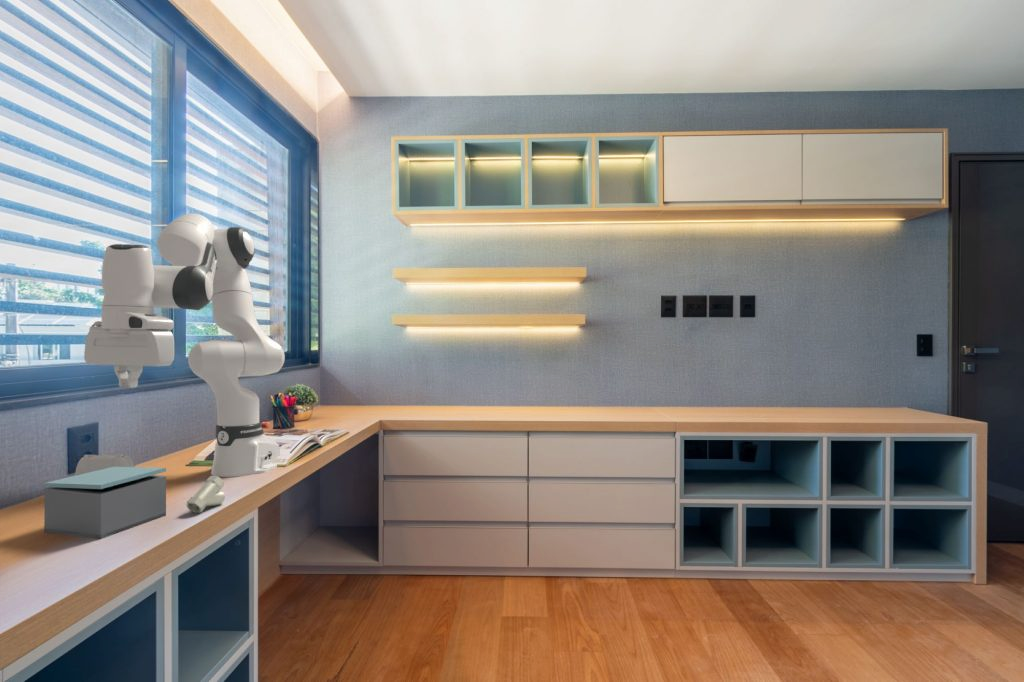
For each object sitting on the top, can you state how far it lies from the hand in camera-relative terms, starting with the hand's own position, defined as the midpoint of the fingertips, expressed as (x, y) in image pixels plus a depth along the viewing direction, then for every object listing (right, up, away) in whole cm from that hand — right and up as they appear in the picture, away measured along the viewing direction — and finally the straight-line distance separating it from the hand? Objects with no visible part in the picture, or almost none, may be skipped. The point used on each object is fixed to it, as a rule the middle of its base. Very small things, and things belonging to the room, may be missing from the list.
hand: (128, 387), depth 108 cm
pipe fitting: (+11, -30, +13) cm, 34 cm away
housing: (-5, -29, +1) cm, 30 cm away
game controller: (-24, -29, +25) cm, 45 cm away
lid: (-5, -19, +1) cm, 20 cm away
